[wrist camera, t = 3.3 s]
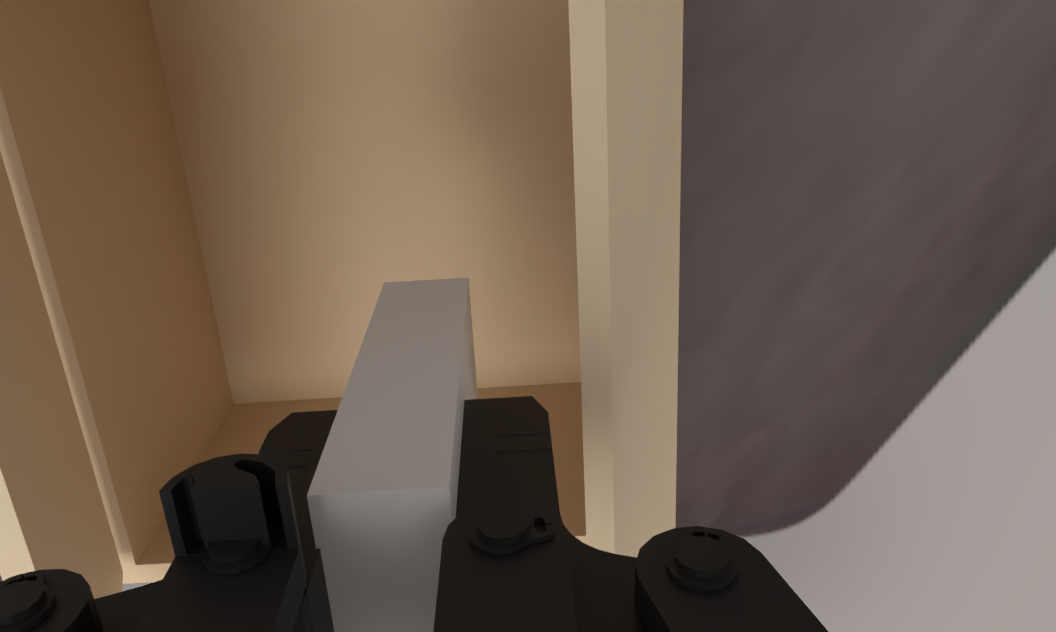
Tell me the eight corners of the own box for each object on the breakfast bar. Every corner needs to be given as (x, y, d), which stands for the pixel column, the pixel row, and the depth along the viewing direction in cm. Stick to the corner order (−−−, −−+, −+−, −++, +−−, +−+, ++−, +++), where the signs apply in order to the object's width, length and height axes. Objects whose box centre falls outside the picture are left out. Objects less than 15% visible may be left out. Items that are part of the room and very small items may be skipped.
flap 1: (123, 572, 23) (108, 786, 16) (102, 577, 22) (80, 796, 16) (-71, -93, 16) (-208, -141, 10) (-101, -92, 16) (-258, -140, 10)
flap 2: (659, -134, 17) (562, -184, 10) (685, -137, 16) (601, -189, 10) (656, 537, 23) (593, 753, 17) (675, 539, 23) (618, 759, 16)
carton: (110, -124, 26) (-106, -176, 17) (618, -152, 26) (686, -220, 17) (229, 428, 33) (125, 605, 24) (625, 402, 33) (674, 568, 24)
